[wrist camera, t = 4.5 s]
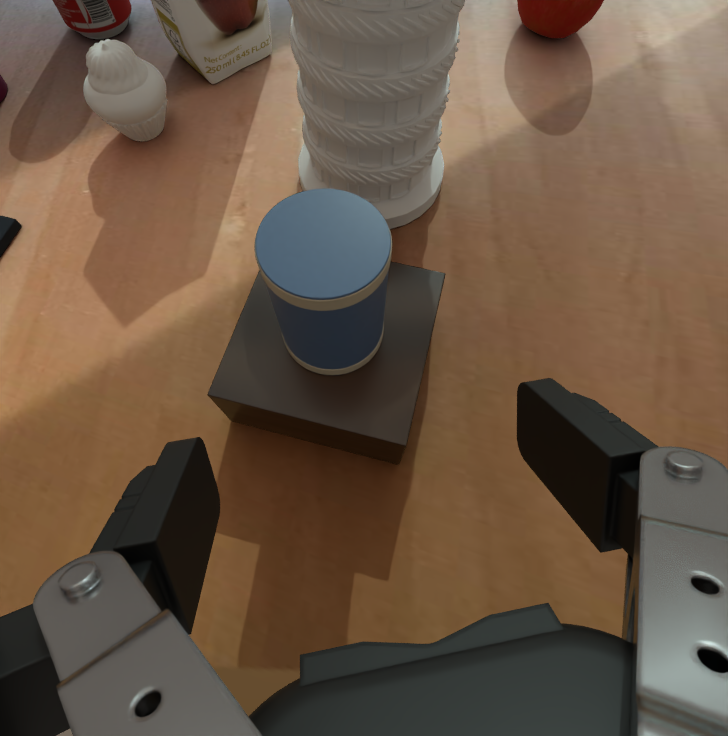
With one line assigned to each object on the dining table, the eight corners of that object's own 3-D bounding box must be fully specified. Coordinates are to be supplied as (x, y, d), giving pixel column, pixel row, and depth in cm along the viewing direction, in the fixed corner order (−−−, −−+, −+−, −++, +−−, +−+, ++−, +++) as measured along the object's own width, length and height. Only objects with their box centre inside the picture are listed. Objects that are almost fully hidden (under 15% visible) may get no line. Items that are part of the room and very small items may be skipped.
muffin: (176, 97, 41) (142, 10, 34) (185, 146, 38) (150, 63, 32) (105, 110, 40) (56, 24, 34) (110, 161, 38) (58, 78, 31)
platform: (398, 465, 28) (406, 446, 24) (230, 421, 29) (206, 394, 25) (433, 314, 32) (445, 273, 28) (285, 280, 33) (273, 235, 29)
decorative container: (350, 106, 41) (344, -210, 24) (466, 159, 38) (548, -150, 22) (271, 190, 37) (197, -117, 20) (394, 255, 34) (426, -32, 18)
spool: (369, 387, 25) (373, 314, 18) (269, 362, 25) (233, 281, 18) (393, 299, 27) (405, 202, 20) (301, 278, 28) (279, 175, 20)
